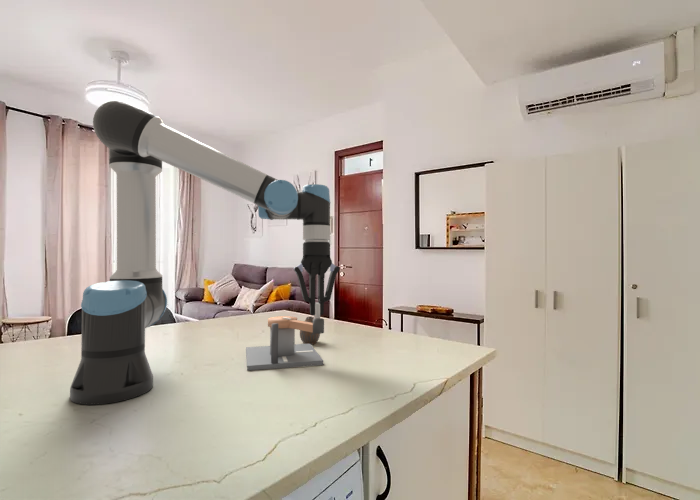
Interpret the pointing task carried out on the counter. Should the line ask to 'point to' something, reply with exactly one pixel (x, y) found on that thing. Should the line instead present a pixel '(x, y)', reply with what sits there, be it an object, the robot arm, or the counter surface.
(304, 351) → the post base
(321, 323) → the wooden cross piece
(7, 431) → the counter surface
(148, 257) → the robot arm
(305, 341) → the vase
